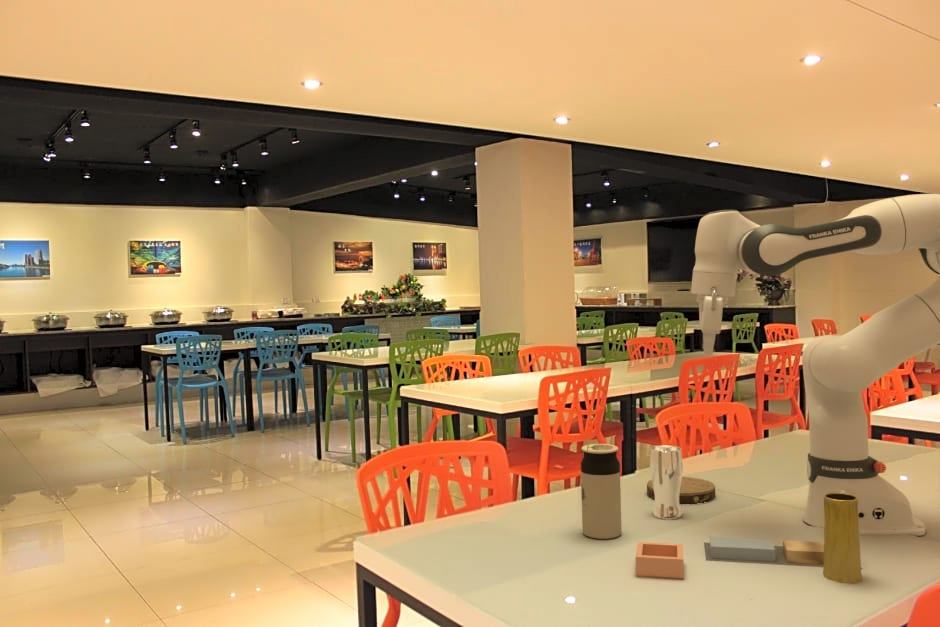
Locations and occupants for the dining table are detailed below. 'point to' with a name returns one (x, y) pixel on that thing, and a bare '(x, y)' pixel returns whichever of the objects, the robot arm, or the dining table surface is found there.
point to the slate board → (742, 549)
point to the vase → (841, 538)
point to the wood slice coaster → (690, 491)
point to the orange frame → (659, 560)
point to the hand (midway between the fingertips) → (707, 352)
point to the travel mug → (601, 491)
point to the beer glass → (666, 480)
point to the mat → (779, 560)
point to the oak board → (803, 552)
